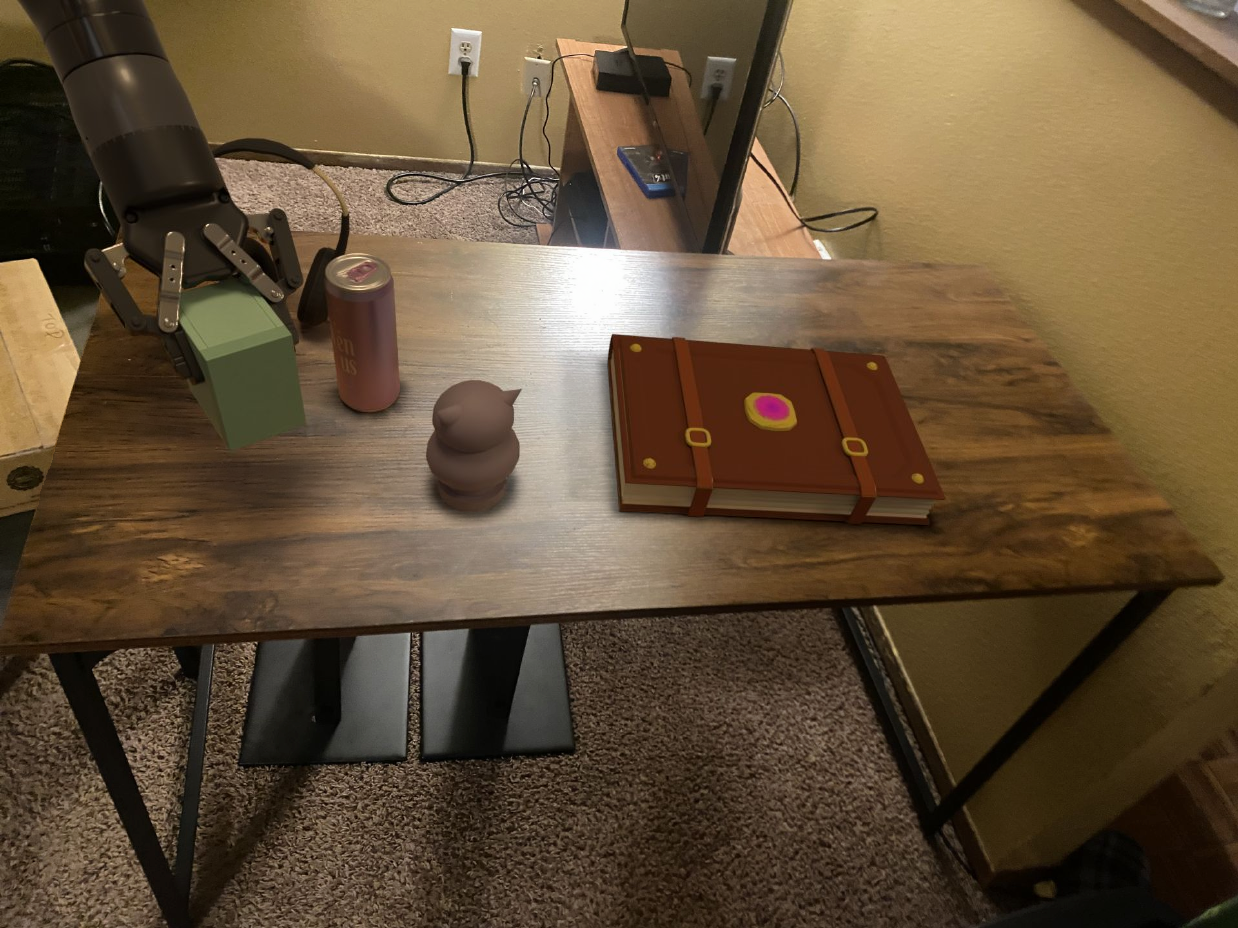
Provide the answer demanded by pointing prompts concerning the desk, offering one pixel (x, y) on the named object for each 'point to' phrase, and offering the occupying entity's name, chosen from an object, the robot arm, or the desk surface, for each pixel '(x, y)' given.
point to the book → (764, 433)
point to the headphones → (313, 293)
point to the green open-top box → (242, 363)
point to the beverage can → (363, 330)
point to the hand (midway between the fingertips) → (245, 368)
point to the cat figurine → (473, 444)
